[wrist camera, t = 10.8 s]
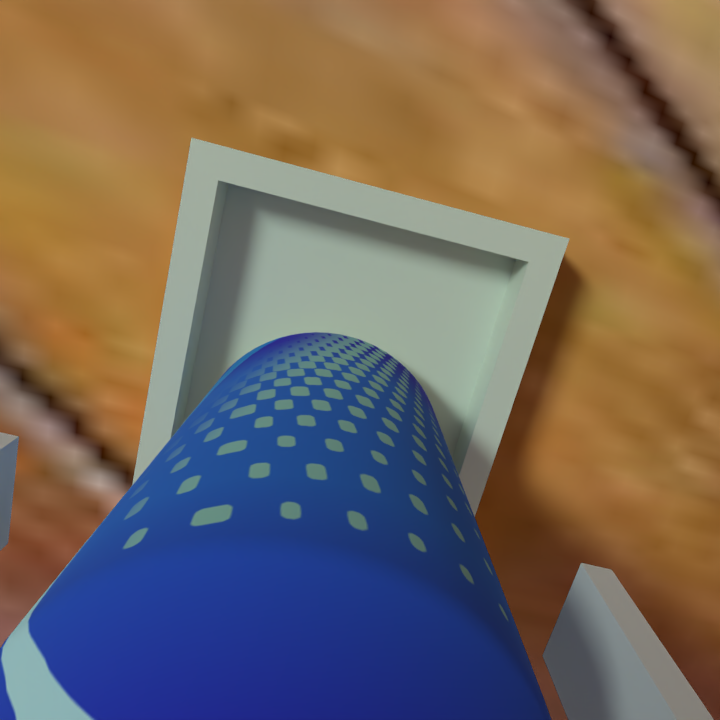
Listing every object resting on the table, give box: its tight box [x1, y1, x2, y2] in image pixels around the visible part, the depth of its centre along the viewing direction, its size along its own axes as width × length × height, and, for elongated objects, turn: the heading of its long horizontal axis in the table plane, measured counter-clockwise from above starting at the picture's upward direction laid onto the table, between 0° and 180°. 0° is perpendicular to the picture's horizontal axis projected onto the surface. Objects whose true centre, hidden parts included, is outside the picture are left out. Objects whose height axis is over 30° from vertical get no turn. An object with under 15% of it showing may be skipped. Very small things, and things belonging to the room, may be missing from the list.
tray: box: [132, 138, 569, 517], centre depth 21 cm, size 18×12×2 cm, turn 166°
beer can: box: [0, 332, 551, 720], centre depth 13 cm, size 8×8×16 cm
